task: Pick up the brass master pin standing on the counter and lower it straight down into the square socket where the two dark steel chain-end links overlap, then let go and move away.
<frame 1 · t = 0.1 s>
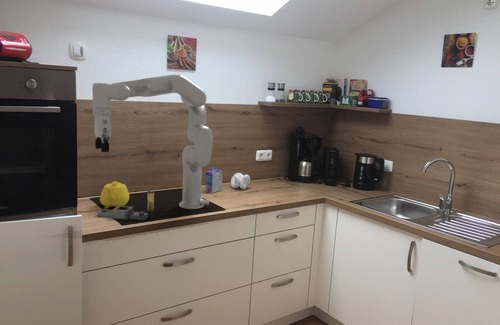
hand: (102, 150, 186), 31 cm above the countertop, tool pointing down, fingers open, 9 cm apart
white twisted lump: (241, 188, 259), on the countertop
ink cartridge box: (213, 191, 249), on the countertop
master pin: (150, 210, 204), on the countertop
chain ends: (122, 216, 193), on the countertop
teapot: (114, 206, 208), on the countertop
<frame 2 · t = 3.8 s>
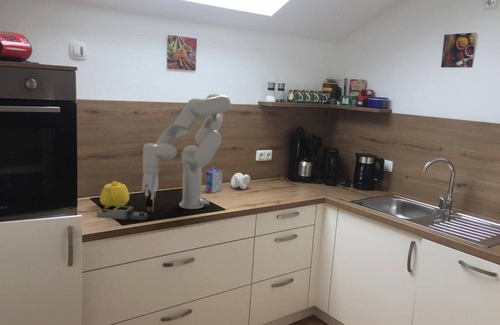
hand: (150, 205, 204), 3 cm above the countertop, tool pointing down, fingers closed on master pin, 3 cm apart
master pin: (150, 210, 204), on the countertop, touching gripper
everything else where it was.
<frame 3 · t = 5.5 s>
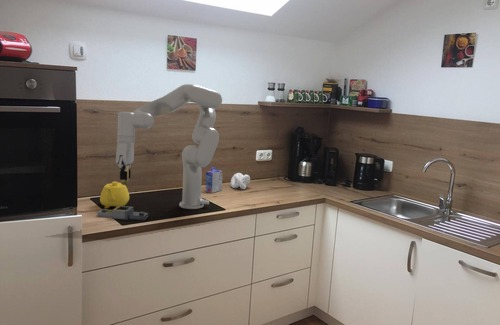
hand: (125, 178, 191), 18 cm above the countertop, tool pointing down, fingers closed on master pin, 3 cm apart
master pin: (125, 184, 191), point 15 cm above the countertop, touching gripper
everything else where it was.
when the fingers open (5 cm above the countertop, at t = 7.5 s): master pin drops 2 cm, resting in chain ends.
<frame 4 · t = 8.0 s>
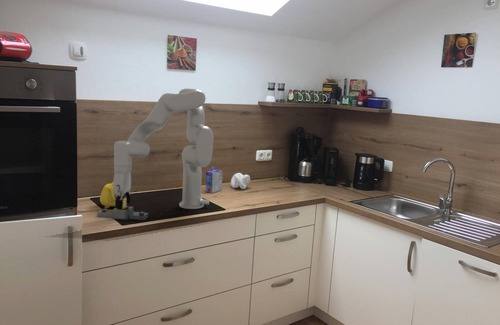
hand: (122, 205, 192), 5 cm above the countertop, tool pointing down, fingers open, 8 cm apart
master pin: (122, 216, 193), resting in chain ends
everything else where it was.
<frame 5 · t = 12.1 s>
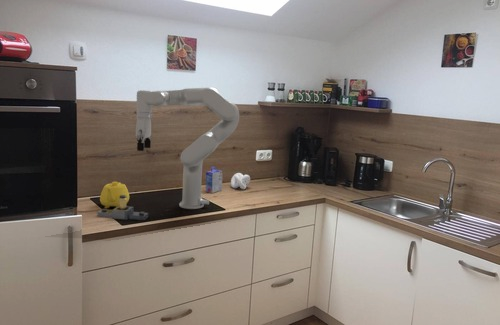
hand: (144, 149, 211), 28 cm above the countertop, tool pointing down, fingers open, 9 cm apart
nothing on the countertop moved.
at the end: master pin 0.0 cm off-centre on the chain ends, point 0.0 cm above the chain ends's base; master pin tilted 0°; the gripper is holding nothing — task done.
